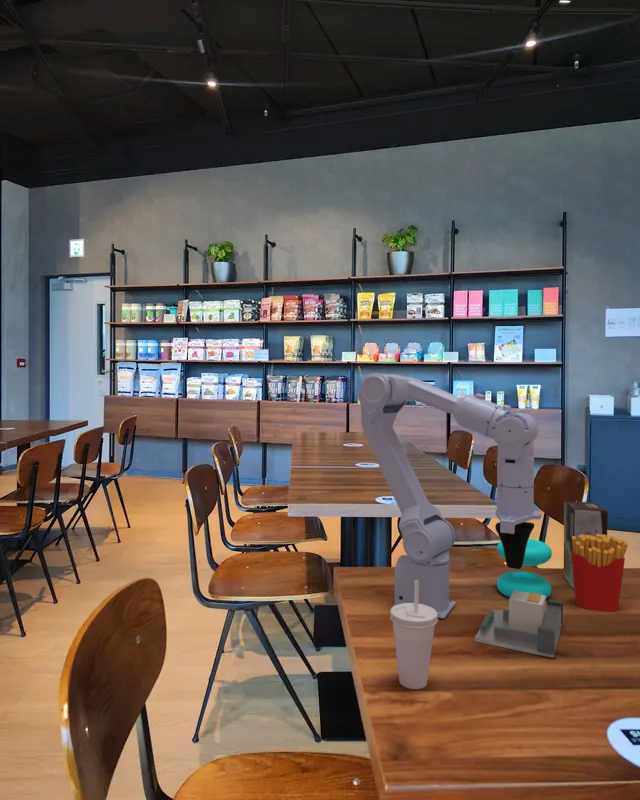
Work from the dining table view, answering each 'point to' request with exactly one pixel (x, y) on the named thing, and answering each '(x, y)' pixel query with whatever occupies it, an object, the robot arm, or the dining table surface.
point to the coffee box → (581, 528)
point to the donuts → (526, 580)
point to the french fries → (598, 571)
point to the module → (526, 611)
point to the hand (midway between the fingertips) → (514, 567)
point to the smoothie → (413, 640)
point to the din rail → (541, 643)
